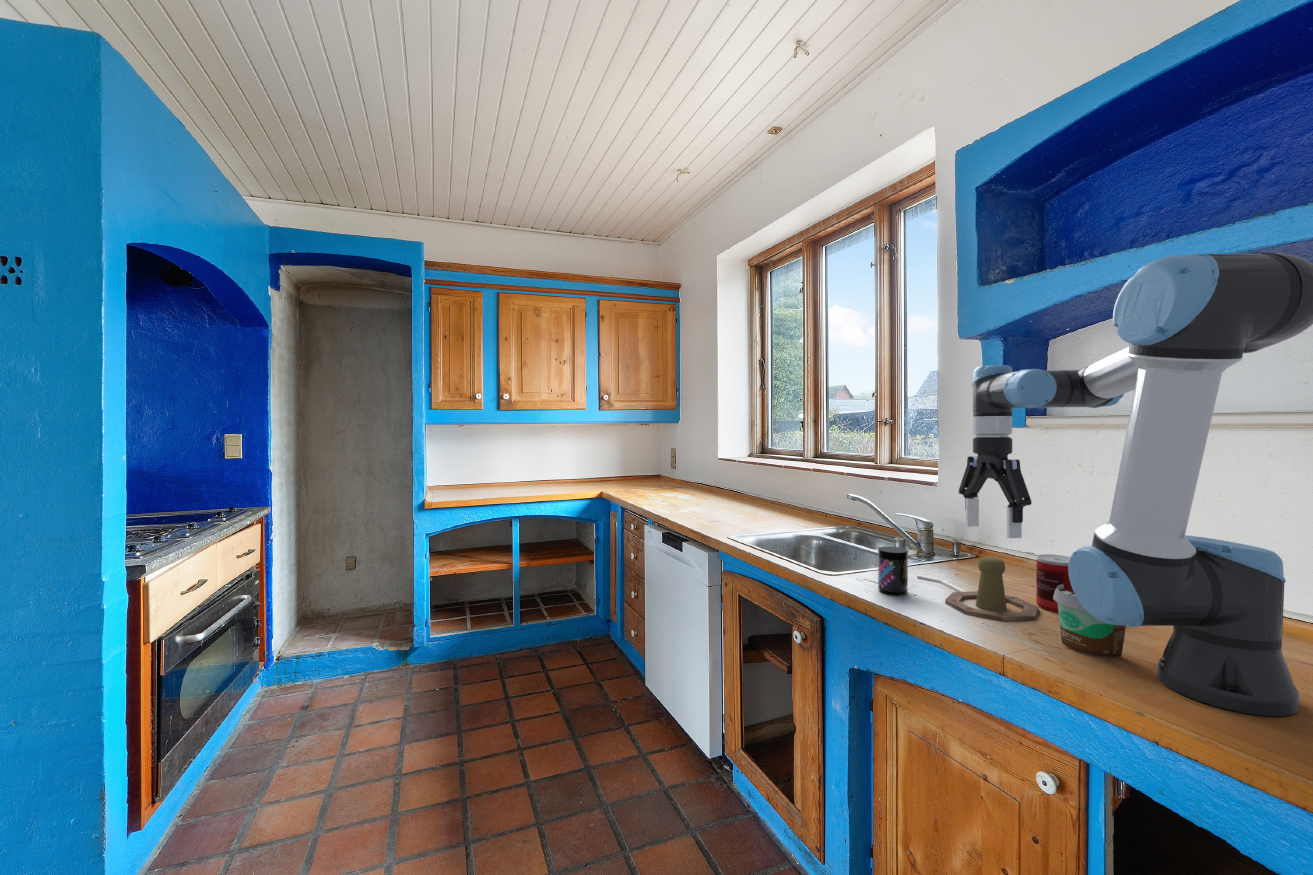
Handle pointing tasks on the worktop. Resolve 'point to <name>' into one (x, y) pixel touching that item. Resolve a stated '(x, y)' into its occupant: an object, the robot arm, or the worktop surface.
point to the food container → (1086, 628)
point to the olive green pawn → (991, 585)
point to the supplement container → (893, 570)
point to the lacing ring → (1026, 614)
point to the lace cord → (941, 582)
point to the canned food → (1051, 579)
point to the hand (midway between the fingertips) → (992, 531)
